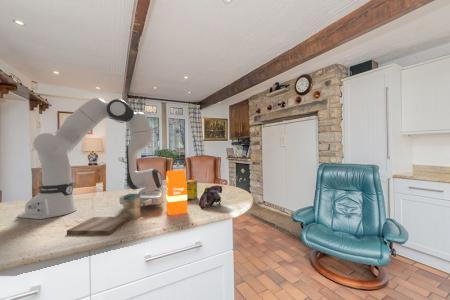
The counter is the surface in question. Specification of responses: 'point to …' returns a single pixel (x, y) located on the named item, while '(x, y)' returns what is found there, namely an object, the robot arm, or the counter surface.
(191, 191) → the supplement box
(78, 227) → the chopping board
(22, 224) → the counter surface
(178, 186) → the orange juice
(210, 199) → the decorative flower
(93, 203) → the counter surface
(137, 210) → the beech block
